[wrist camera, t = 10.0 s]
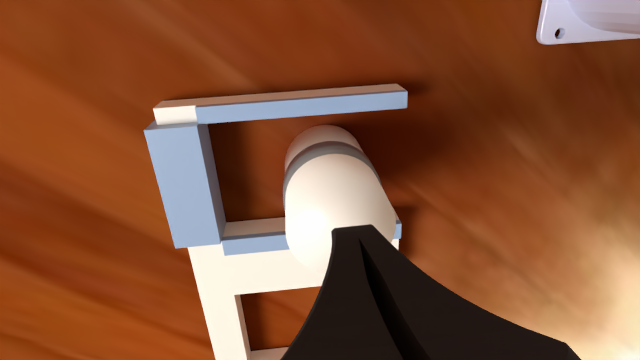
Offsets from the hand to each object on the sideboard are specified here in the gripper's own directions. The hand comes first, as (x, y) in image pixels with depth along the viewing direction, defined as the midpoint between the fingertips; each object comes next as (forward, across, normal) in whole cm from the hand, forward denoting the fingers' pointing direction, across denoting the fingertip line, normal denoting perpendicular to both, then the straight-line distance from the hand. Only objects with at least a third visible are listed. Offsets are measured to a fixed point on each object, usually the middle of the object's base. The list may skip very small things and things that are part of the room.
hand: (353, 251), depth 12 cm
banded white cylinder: (+10, 0, +1) cm, 10 cm away
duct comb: (+9, +2, +6) cm, 12 cm away
